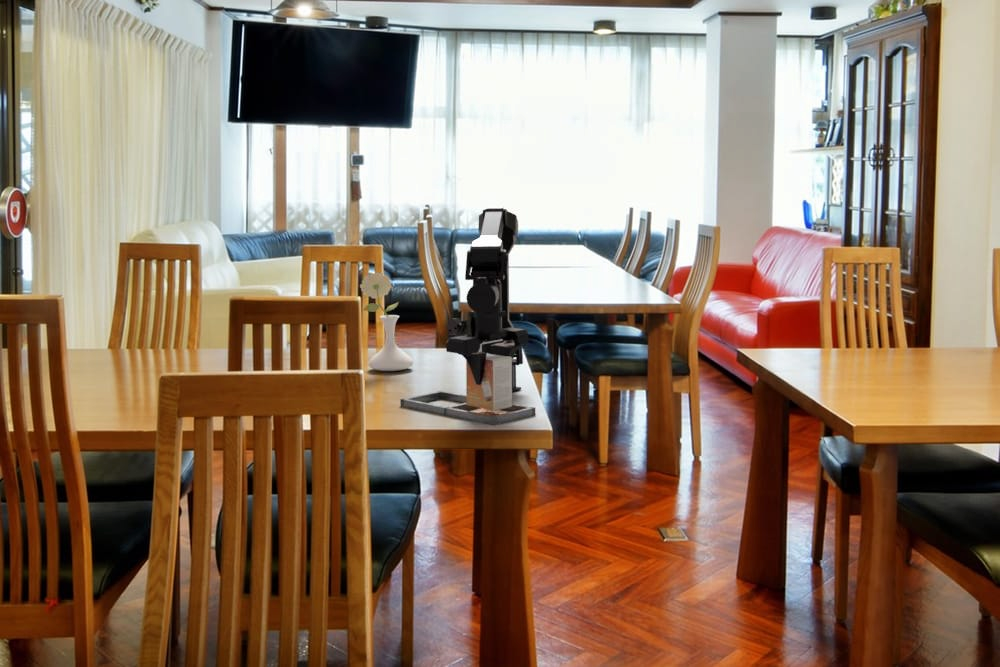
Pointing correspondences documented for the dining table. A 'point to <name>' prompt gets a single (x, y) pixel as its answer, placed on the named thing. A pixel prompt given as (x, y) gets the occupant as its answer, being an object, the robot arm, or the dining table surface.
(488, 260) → the robot arm
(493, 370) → the small box
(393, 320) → the flower in vase
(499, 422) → the pocket rack
